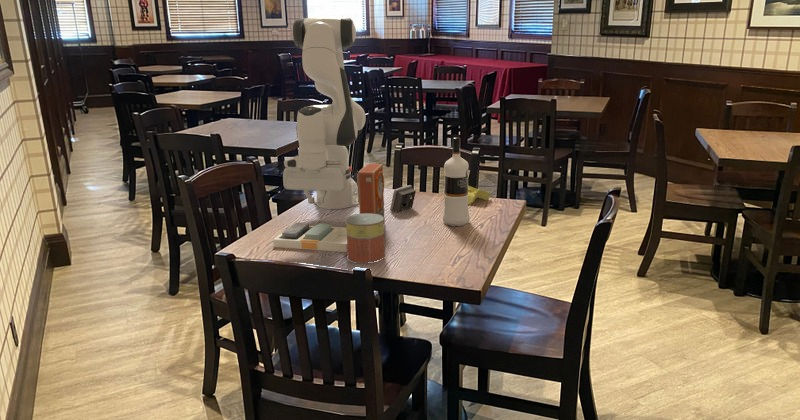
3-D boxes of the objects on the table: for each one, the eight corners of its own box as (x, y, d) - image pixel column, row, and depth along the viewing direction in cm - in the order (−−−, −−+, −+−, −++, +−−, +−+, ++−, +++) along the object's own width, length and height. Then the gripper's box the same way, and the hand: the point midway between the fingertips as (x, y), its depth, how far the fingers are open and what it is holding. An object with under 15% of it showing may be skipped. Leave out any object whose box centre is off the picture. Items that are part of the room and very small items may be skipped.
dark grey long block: (297, 233, 201) (296, 222, 200) (309, 234, 200) (308, 223, 199) (283, 244, 191) (282, 233, 190) (296, 245, 190) (295, 233, 189)
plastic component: (493, 194, 236) (477, 188, 230) (486, 212, 237) (469, 206, 230) (459, 182, 251) (443, 175, 245) (452, 198, 252) (436, 192, 245)
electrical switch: (406, 206, 232) (407, 183, 229) (416, 209, 229) (417, 186, 226) (389, 212, 225) (390, 188, 222) (399, 215, 222) (400, 191, 219)
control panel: (387, 222, 212) (377, 236, 198) (368, 222, 214) (356, 235, 200) (385, 163, 206) (374, 173, 192) (365, 162, 208) (353, 172, 194)
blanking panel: (319, 235, 200) (318, 223, 199) (331, 235, 199) (331, 224, 197) (305, 246, 190) (305, 234, 188) (319, 247, 188) (318, 234, 187)
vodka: (449, 217, 217) (449, 134, 208) (473, 220, 212) (474, 136, 204) (438, 224, 209) (438, 138, 200) (463, 228, 204) (463, 140, 196)
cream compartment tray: (293, 232, 204) (293, 223, 203) (362, 237, 198) (361, 227, 197) (273, 248, 190) (272, 238, 189) (346, 253, 184) (346, 243, 183)
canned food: (367, 247, 188) (365, 210, 185) (393, 255, 181) (391, 217, 177) (339, 257, 181) (337, 219, 177) (365, 266, 173) (363, 227, 170)
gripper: (348, 159, 187) (350, 202, 191) (287, 157, 192) (291, 199, 196) (341, 163, 181) (344, 207, 185) (279, 161, 186) (282, 204, 190)
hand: (316, 203), depth 190 cm, fingers closed
